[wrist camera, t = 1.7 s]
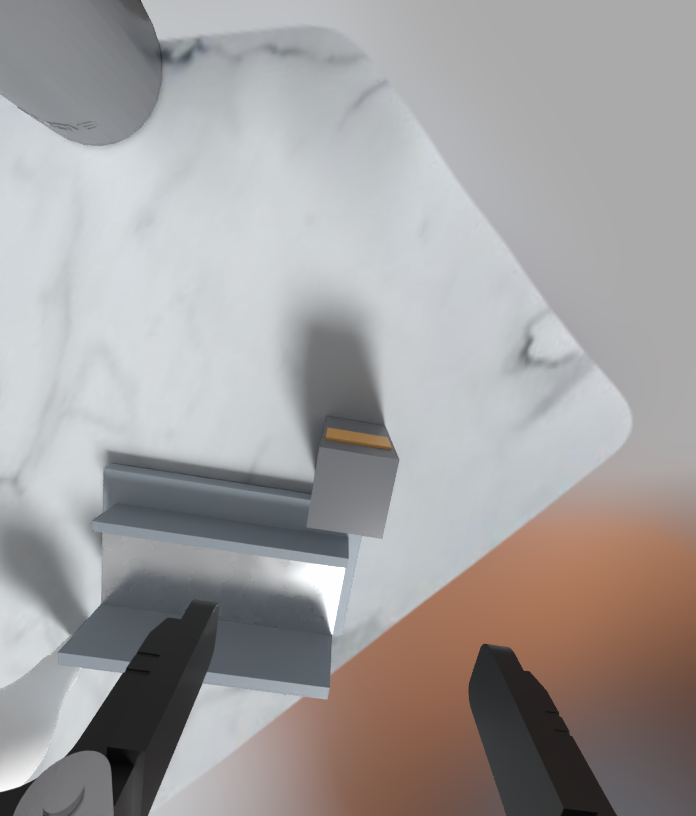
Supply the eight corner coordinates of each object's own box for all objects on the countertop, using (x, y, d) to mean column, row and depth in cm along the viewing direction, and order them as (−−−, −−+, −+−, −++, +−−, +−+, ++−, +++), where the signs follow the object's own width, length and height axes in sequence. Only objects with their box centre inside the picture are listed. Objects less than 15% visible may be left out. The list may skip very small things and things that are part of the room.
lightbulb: (48, 606, 29) (-131, 769, 18) (120, 612, 29) (-14, 777, 18) (53, 663, 30) (-109, 846, 19) (122, 668, 30) (-1, 854, 19)
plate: (116, 512, 26) (102, 523, 24) (346, 546, 26) (346, 559, 25) (114, 589, 27) (101, 603, 26) (332, 619, 28) (332, 635, 26)
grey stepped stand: (112, 463, 26) (36, 505, 20) (366, 502, 27) (372, 555, 20) (110, 593, 28) (42, 668, 22) (341, 625, 29) (340, 706, 23)
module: (327, 414, 25) (319, 444, 18) (385, 423, 25) (399, 457, 18) (316, 476, 26) (306, 527, 19) (372, 485, 26) (382, 538, 20)
